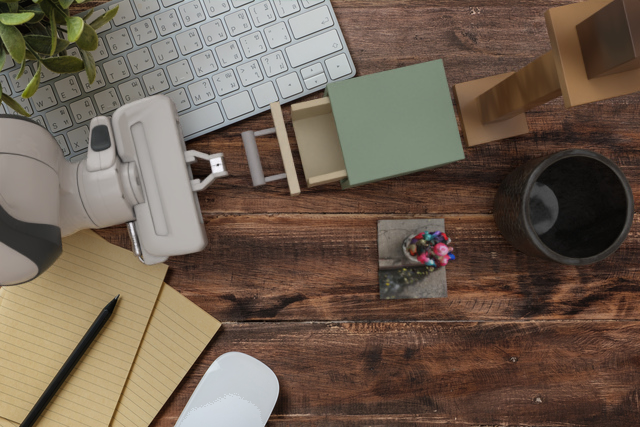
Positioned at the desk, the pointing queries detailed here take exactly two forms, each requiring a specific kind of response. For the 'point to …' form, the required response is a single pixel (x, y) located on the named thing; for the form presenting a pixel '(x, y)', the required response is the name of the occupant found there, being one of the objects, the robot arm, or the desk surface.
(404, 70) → the cabinet
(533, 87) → the stand
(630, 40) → the pencil box
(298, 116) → the drawer
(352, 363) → the desk surface
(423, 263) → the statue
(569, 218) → the planter
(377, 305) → the desk surface
